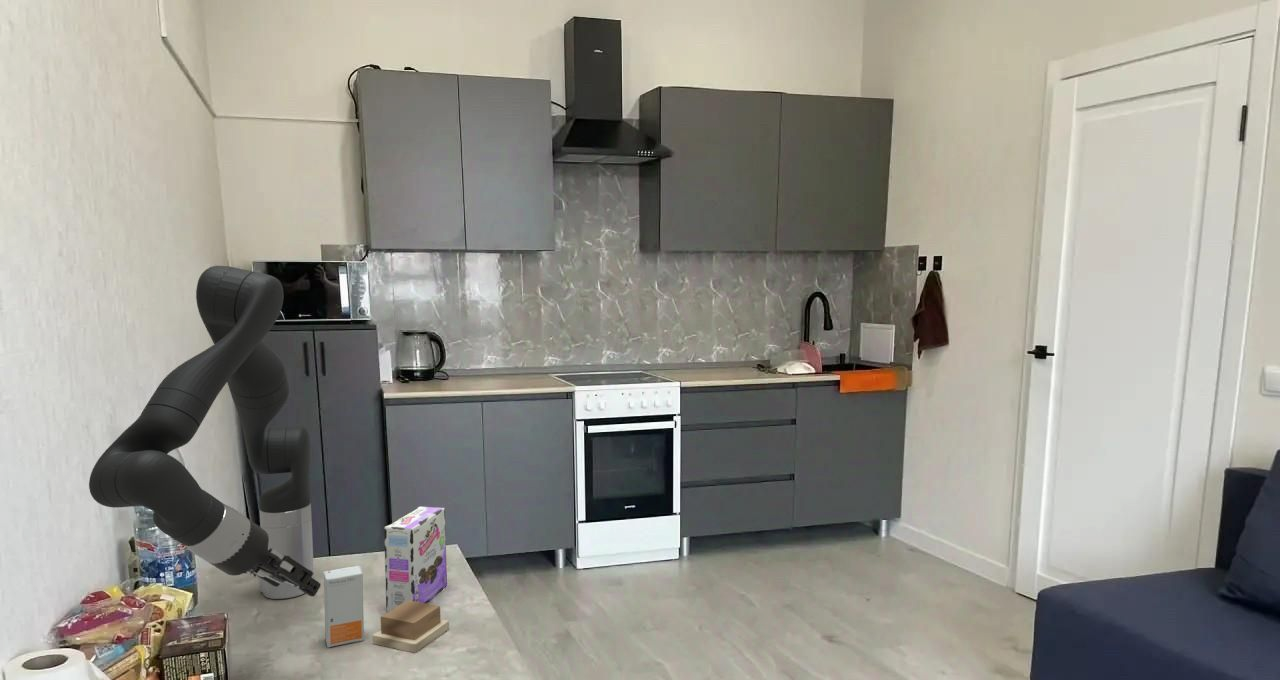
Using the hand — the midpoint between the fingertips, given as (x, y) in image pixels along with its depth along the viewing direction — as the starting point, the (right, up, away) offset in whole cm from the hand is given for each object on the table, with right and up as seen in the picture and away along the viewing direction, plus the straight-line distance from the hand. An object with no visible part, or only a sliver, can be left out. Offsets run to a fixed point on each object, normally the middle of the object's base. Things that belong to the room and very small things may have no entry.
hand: (297, 585), depth 116 cm
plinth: (+15, -12, +10) cm, 22 cm away
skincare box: (+4, -12, +9) cm, 16 cm away
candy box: (+12, -11, +25) cm, 30 cm away
